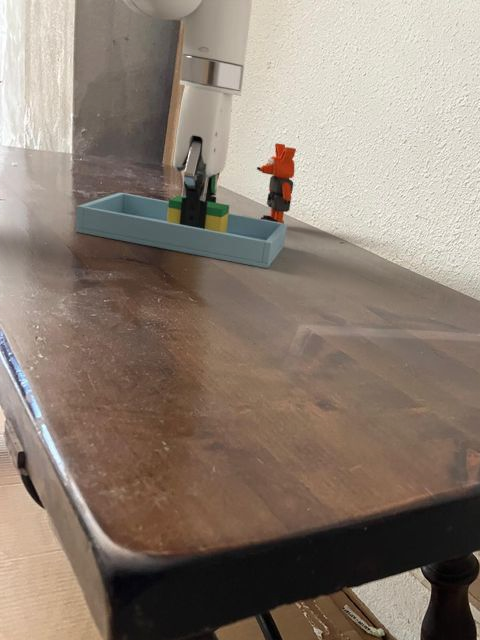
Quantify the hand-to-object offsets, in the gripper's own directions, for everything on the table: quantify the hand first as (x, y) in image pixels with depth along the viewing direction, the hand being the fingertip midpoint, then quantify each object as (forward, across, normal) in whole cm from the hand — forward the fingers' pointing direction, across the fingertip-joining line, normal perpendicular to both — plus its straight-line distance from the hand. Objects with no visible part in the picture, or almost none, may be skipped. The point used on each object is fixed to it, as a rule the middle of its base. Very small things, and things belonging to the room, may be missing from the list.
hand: (196, 226), depth 98 cm
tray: (+2, +2, -1) cm, 3 cm away
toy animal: (+2, -21, +6) cm, 22 cm away
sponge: (+1, 0, 0) cm, 1 cm away
